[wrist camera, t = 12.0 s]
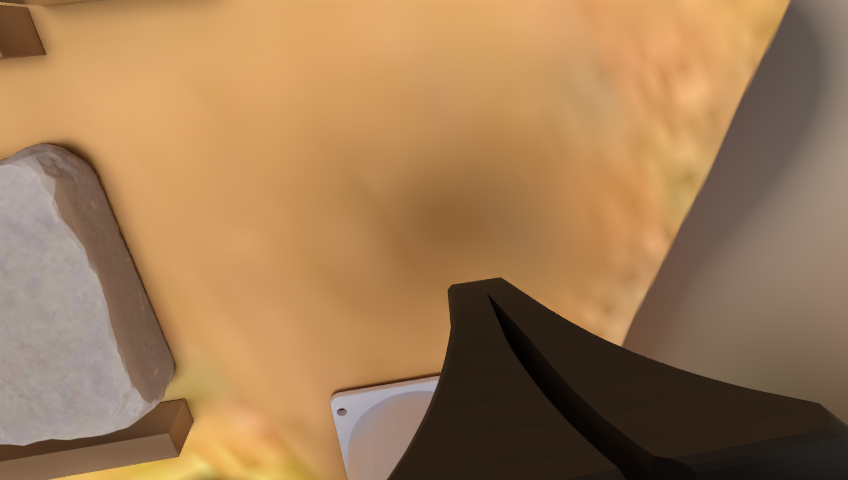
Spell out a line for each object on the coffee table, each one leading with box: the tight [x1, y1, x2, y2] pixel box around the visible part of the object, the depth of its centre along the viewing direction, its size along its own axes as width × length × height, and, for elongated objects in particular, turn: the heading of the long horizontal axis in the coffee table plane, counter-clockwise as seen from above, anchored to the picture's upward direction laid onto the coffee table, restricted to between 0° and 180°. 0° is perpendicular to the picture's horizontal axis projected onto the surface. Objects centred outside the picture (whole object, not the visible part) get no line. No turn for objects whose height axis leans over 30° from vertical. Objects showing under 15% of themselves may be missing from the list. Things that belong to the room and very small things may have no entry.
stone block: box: [0, 143, 174, 446], centre depth 19 cm, size 12×5×10 cm
